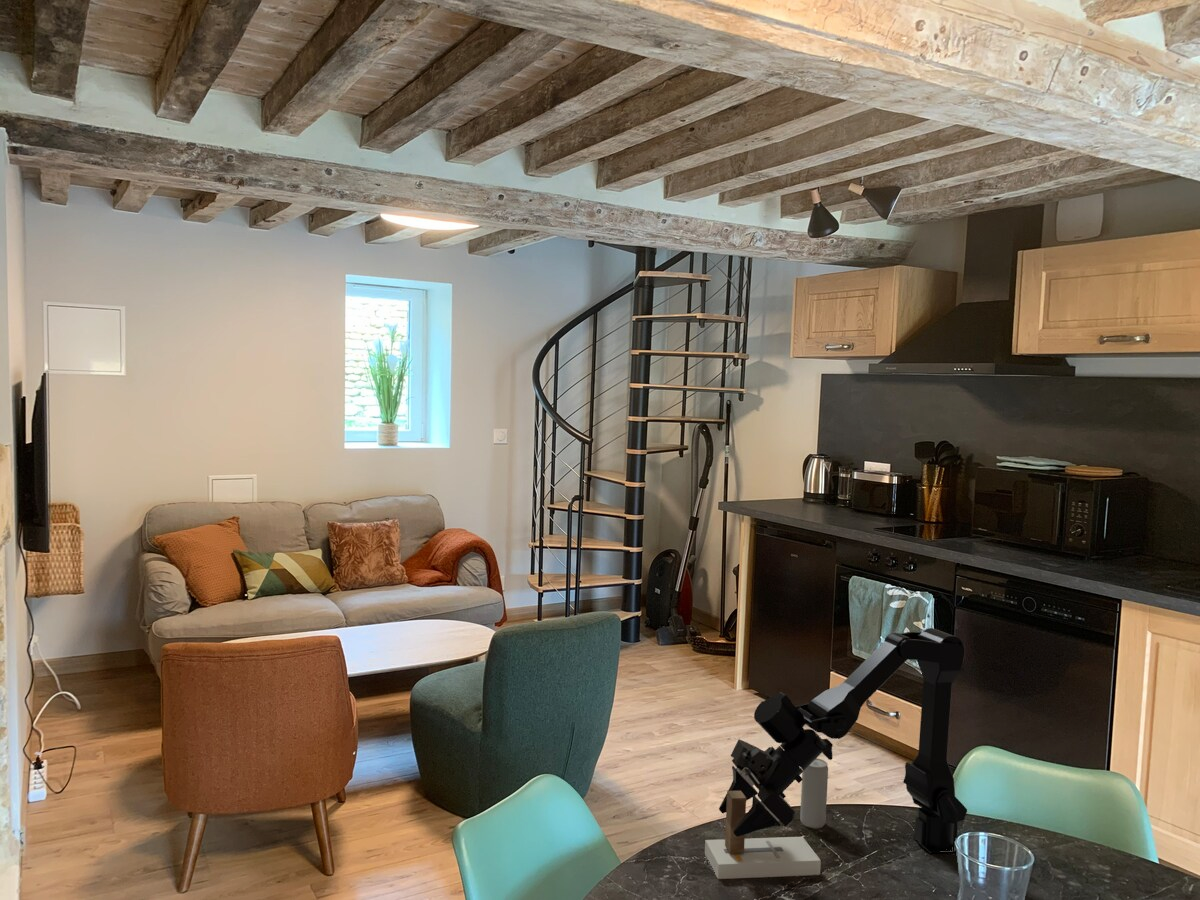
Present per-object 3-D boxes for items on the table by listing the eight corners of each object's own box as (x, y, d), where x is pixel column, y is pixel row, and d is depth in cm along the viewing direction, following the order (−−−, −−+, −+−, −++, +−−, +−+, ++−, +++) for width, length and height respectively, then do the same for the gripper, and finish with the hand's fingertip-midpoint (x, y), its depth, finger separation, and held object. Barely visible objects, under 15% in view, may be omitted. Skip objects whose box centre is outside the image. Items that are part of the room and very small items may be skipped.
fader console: (801, 850, 162) (802, 835, 162) (820, 874, 153) (820, 859, 153) (704, 853, 159) (705, 839, 159) (717, 879, 151) (718, 863, 150)
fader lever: (738, 844, 157) (741, 790, 157) (743, 853, 154) (746, 797, 154) (724, 845, 157) (727, 790, 156) (729, 853, 154) (732, 798, 153)
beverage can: (823, 819, 175) (826, 758, 174) (827, 830, 170) (830, 768, 169) (798, 817, 175) (801, 756, 175) (801, 828, 170) (804, 766, 170)
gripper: (744, 708, 164) (683, 769, 163) (779, 746, 146) (710, 815, 145) (784, 750, 166) (724, 810, 165) (823, 793, 147) (756, 861, 146)
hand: (727, 822), depth 155 cm, fingers open, 8 cm apart
